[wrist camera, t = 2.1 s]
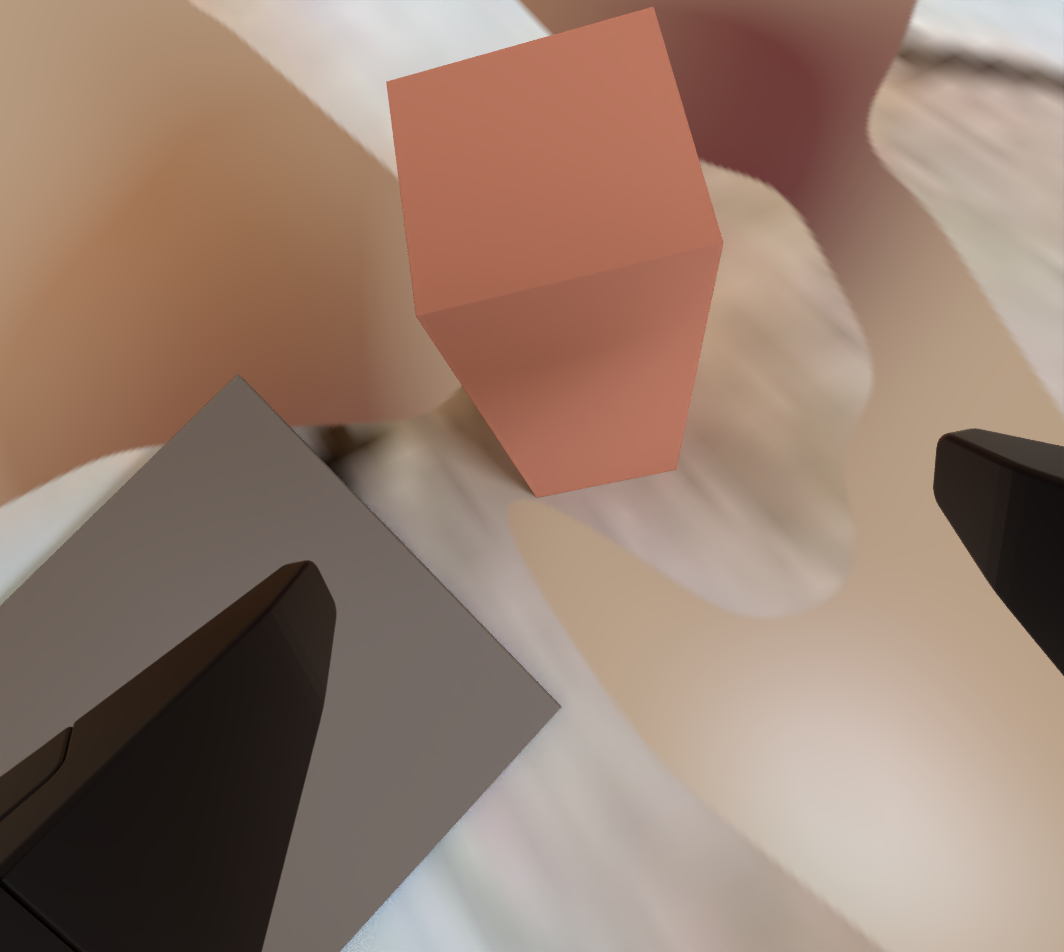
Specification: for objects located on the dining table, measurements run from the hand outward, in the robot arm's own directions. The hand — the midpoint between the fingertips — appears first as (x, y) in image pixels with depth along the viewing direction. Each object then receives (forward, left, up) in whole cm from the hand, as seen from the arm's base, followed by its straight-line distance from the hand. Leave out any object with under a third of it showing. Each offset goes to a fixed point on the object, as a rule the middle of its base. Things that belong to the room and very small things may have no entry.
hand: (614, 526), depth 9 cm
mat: (+8, +13, -13) cm, 20 cm away
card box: (+5, -4, -13) cm, 14 cm away
